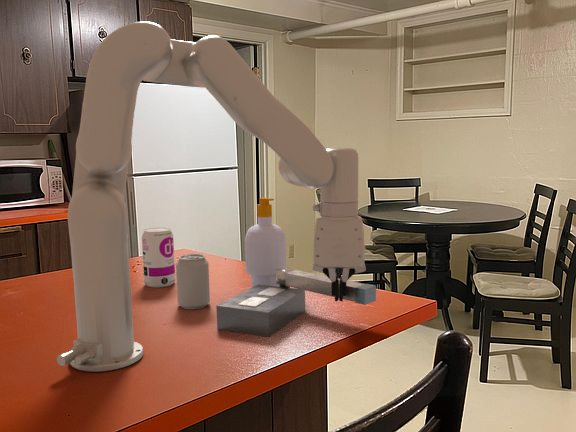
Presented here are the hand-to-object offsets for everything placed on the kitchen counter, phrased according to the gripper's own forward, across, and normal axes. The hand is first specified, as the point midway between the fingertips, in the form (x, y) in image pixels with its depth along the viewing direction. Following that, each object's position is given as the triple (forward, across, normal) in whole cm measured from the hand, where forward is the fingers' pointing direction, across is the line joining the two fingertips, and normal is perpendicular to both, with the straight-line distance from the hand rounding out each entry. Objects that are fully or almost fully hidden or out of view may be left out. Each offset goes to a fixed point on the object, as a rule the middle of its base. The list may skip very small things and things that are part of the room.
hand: (338, 299), depth 115 cm
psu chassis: (+6, -16, +6) cm, 18 cm away
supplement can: (+6, -49, +32) cm, 59 cm away
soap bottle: (+6, -19, +25) cm, 32 cm away
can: (+6, -34, +13) cm, 38 cm away
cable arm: (+1, -4, +8) cm, 9 cm away
